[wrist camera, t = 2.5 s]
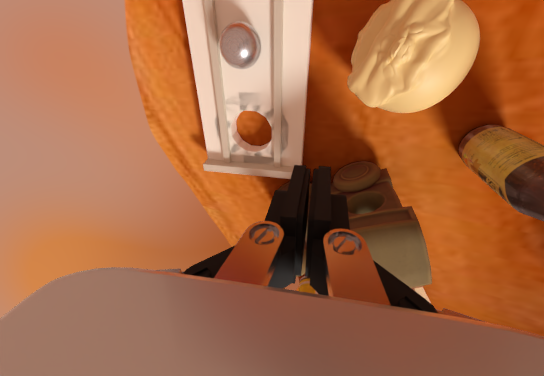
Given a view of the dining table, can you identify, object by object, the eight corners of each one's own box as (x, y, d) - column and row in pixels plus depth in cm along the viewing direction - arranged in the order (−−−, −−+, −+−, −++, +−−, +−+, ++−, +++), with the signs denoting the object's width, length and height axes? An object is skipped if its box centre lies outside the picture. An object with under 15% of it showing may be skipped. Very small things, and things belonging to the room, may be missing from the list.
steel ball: (226, 22, 30) (209, 20, 26) (265, 21, 29) (253, 19, 25) (230, 66, 33) (215, 71, 29) (265, 67, 32) (256, 72, 28)
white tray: (190, -9, 31) (171, -15, 28) (314, -15, 28) (311, -22, 25) (214, 159, 44) (204, 170, 40) (302, 166, 41) (299, 179, 38)
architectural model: (416, 270, 49) (428, 304, 43) (426, 291, 51) (439, 326, 45) (398, 274, 50) (408, 307, 44) (409, 294, 53) (419, 328, 47)
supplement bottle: (295, 281, 58) (289, 321, 50) (309, 270, 55) (305, 311, 47) (313, 292, 58) (310, 333, 50) (327, 282, 56) (327, 324, 47)
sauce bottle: (446, 157, 36) (545, 261, 19) (475, 116, 32) (627, 201, 16) (490, 170, 35) (629, 287, 19) (525, 130, 32) (732, 231, 15)
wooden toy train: (387, 148, 37) (420, 216, 23) (401, 206, 41) (435, 291, 28) (271, 183, 44) (244, 249, 31) (294, 228, 49) (280, 304, 35)
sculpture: (384, -24, 27) (410, -54, 18) (477, 24, 27) (548, 19, 18) (331, 78, 33) (332, 93, 24) (408, 116, 34) (435, 144, 25)
